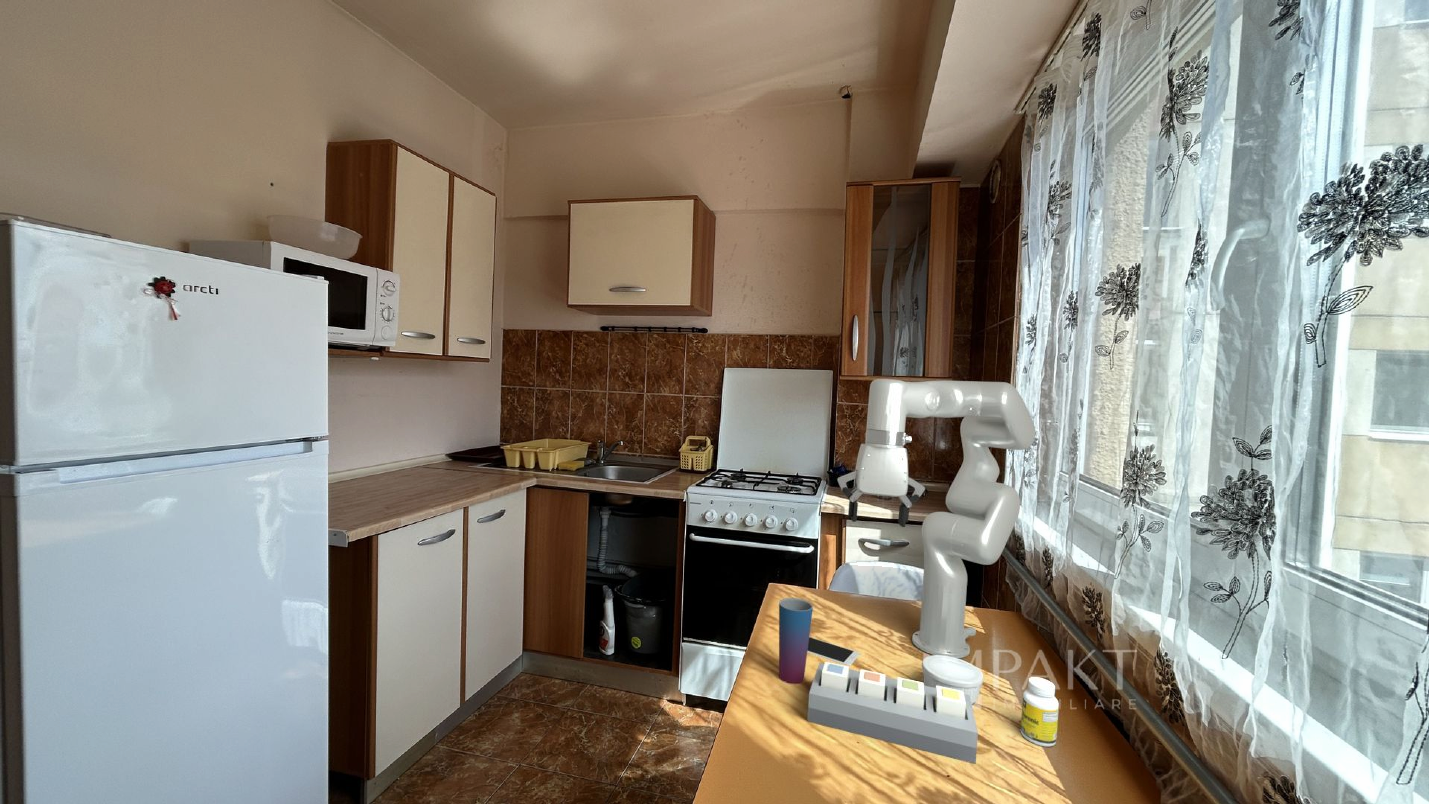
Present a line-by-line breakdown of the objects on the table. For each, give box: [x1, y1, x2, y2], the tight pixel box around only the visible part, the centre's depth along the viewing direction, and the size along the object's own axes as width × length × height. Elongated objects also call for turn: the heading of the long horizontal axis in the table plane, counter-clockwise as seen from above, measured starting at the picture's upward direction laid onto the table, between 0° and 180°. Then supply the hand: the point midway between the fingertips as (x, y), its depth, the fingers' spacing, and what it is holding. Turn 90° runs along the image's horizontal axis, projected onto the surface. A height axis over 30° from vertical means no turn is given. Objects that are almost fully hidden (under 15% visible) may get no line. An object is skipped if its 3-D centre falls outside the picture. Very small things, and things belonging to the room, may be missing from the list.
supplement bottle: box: [1020, 676, 1060, 748], centre depth 96 cm, size 5×5×10 cm
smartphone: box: [807, 636, 861, 667], centre depth 125 cm, size 8×1×15 cm
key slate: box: [821, 661, 850, 692], centre depth 102 cm, size 4×4×3 cm
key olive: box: [896, 676, 925, 710], centre depth 97 cm, size 4×4×3 cm
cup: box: [778, 597, 814, 685], centre depth 112 cm, size 7×7×15 cm
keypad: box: [807, 662, 979, 765], centre depth 98 cm, size 27×12×5 cm, turn 71°
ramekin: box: [921, 655, 984, 705], centre depth 109 cm, size 11×11×5 cm
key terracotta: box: [858, 668, 887, 701], centre depth 99 cm, size 4×4×3 cm
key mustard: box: [935, 685, 966, 719], centre depth 95 cm, size 4×4×3 cm
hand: (877, 523), depth 113 cm, fingers open, 9 cm apart
